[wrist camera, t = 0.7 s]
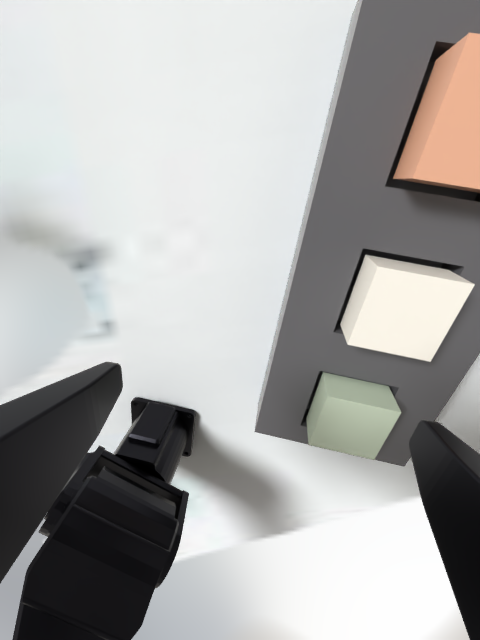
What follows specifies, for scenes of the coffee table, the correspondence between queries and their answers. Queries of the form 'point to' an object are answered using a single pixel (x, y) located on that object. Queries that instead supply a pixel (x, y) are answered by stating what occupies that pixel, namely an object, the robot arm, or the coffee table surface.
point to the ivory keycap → (403, 307)
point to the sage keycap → (351, 416)
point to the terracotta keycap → (447, 123)
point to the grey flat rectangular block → (375, 227)
